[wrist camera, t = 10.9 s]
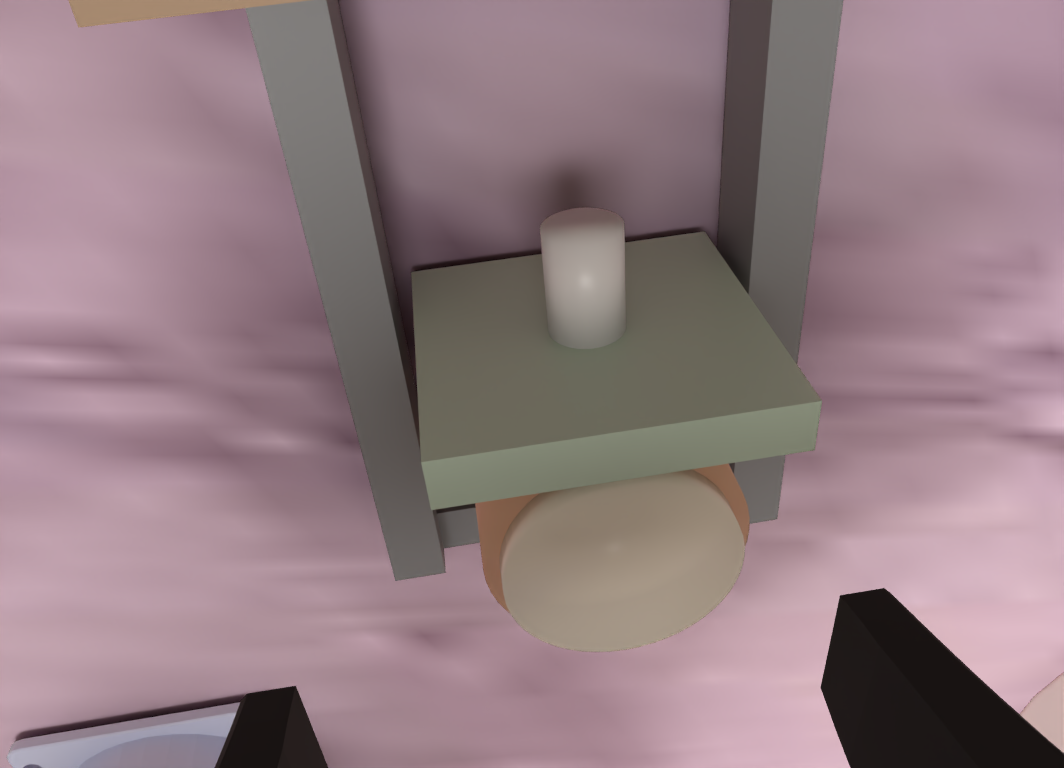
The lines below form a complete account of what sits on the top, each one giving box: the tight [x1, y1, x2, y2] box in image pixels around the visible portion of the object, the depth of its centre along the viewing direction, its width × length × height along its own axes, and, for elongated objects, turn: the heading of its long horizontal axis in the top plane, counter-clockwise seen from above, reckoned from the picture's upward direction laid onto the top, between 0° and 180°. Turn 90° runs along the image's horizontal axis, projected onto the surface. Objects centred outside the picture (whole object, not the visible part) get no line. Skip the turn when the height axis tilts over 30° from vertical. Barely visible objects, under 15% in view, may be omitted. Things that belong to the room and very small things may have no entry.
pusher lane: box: [69, 0, 843, 581], centre depth 14 cm, size 16×10×8 cm, turn 5°
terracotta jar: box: [475, 464, 750, 652], centre depth 18 cm, size 5×5×6 cm
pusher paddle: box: [411, 208, 822, 510], centre depth 15 cm, size 3×6×6 cm, turn 95°
